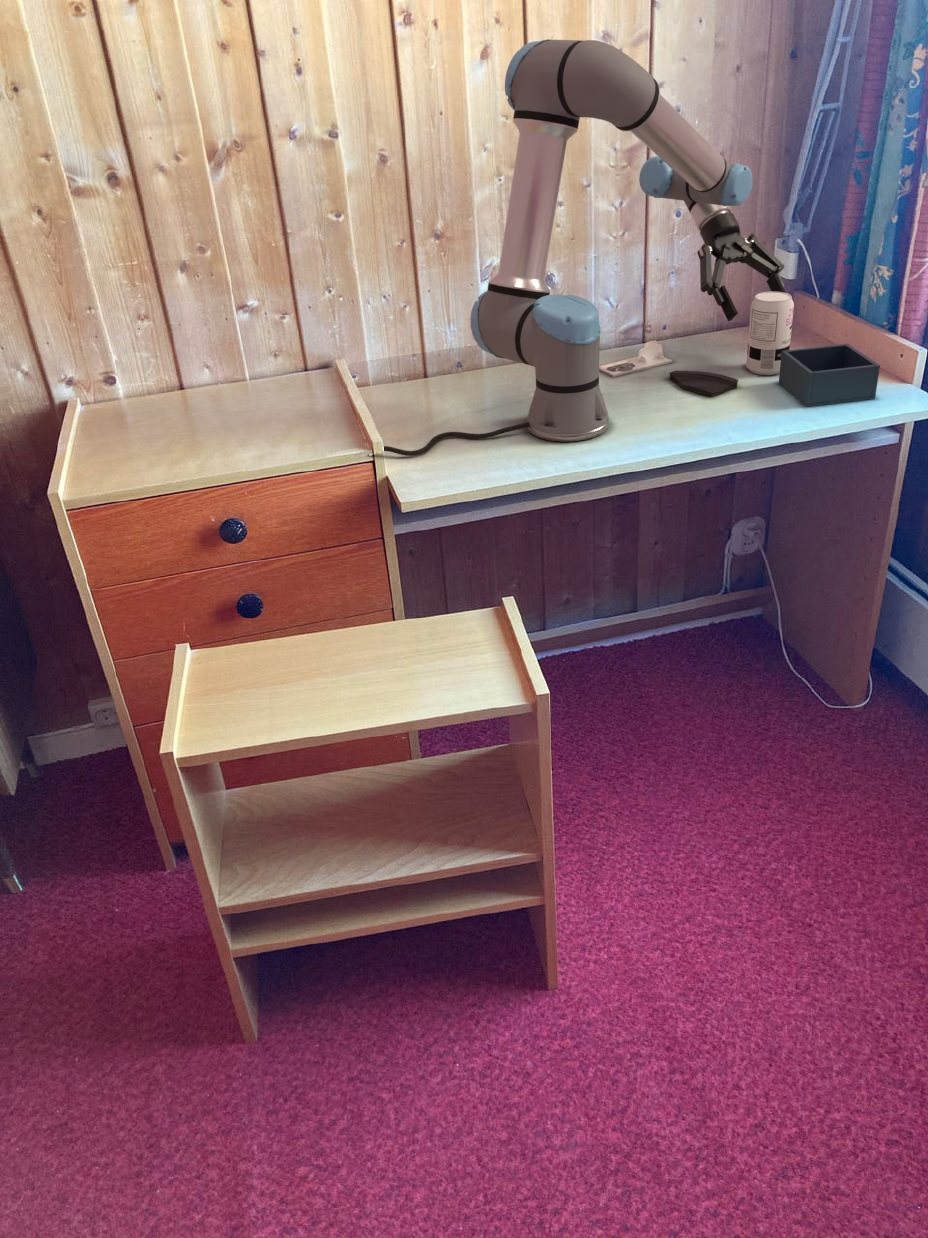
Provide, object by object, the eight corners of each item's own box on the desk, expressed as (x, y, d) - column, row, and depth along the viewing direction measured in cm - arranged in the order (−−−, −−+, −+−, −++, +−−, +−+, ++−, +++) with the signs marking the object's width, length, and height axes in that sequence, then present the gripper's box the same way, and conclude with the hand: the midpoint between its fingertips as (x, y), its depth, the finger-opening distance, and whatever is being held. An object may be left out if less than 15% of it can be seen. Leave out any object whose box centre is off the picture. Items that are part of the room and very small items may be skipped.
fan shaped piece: (689, 371, 218) (690, 364, 217) (739, 387, 208) (740, 379, 207) (661, 381, 214) (661, 373, 213) (710, 398, 204) (711, 390, 203)
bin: (806, 406, 197) (810, 373, 194) (778, 383, 209) (781, 350, 205) (875, 399, 198) (880, 365, 195) (843, 375, 210) (847, 343, 206)
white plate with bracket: (653, 354, 228) (654, 333, 226) (672, 362, 223) (673, 341, 221) (596, 368, 223) (596, 347, 220) (613, 377, 218) (613, 355, 215)
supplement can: (740, 364, 219) (746, 292, 211) (778, 361, 219) (785, 288, 211) (753, 377, 212) (760, 303, 204) (793, 373, 213) (801, 299, 205)
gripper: (752, 223, 224) (795, 308, 221) (658, 243, 215) (701, 332, 211) (772, 200, 217) (816, 288, 214) (675, 220, 208) (720, 312, 205)
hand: (759, 310), depth 213 cm, fingers open, 13 cm apart
